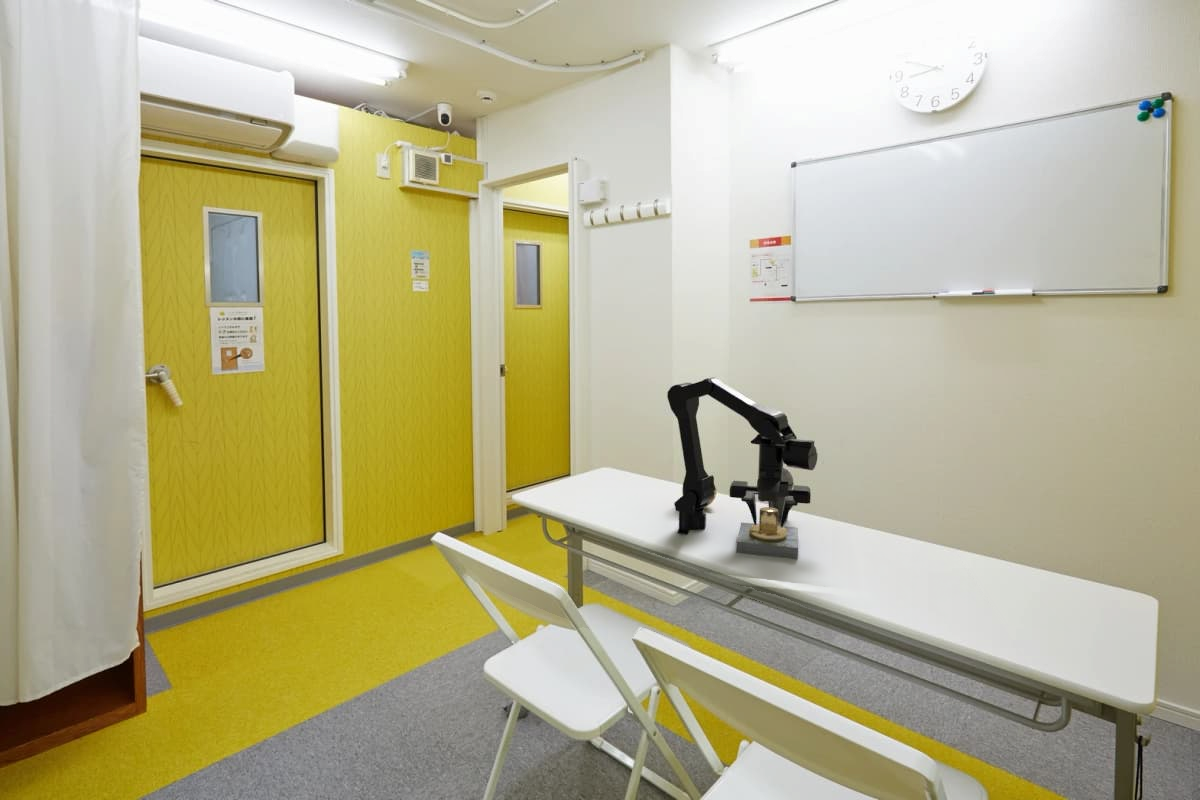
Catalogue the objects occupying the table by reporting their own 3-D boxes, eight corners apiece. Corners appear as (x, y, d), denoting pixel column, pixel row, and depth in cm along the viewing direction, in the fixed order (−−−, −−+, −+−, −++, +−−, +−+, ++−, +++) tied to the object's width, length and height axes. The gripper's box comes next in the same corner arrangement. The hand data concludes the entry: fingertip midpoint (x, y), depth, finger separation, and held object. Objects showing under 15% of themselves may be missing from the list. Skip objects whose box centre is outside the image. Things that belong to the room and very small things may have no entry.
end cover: (747, 549, 155) (748, 514, 153) (750, 536, 163) (751, 502, 162) (786, 553, 152) (788, 517, 151) (787, 540, 161) (788, 506, 159)
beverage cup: (793, 528, 173) (796, 455, 170) (765, 526, 174) (767, 454, 171) (790, 519, 180) (793, 449, 177) (763, 517, 181) (766, 448, 178)
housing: (736, 557, 153) (736, 541, 153) (740, 537, 167) (741, 522, 166) (797, 564, 149) (798, 547, 149) (797, 542, 163) (797, 527, 162)
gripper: (728, 469, 150) (726, 533, 152) (812, 475, 144) (809, 541, 147) (732, 458, 160) (730, 518, 163) (811, 463, 155) (808, 525, 157)
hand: (768, 525), depth 157 cm, fingers open, 6 cm apart
